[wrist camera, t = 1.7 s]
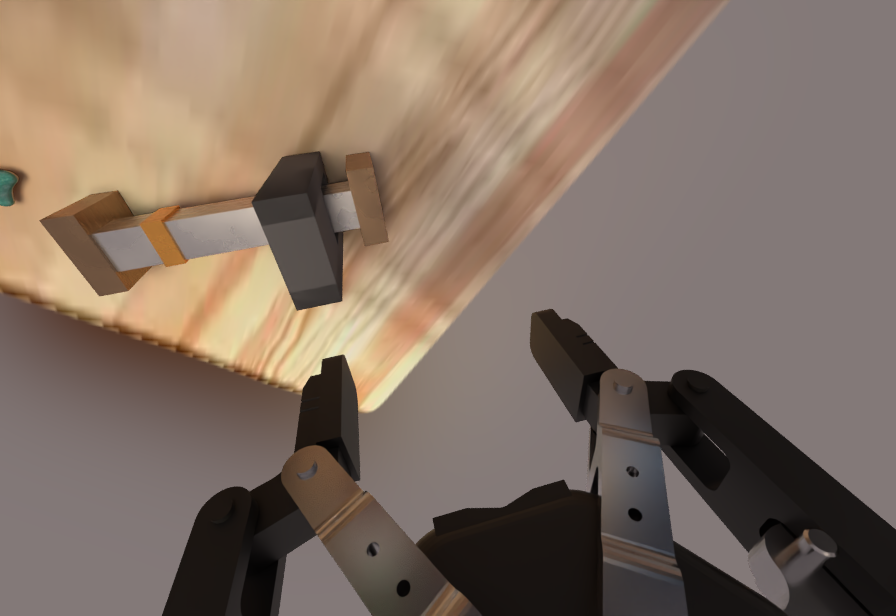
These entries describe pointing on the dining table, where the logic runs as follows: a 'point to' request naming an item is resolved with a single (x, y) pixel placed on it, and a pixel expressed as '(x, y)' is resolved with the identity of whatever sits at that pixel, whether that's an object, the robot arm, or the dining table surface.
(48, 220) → the grey bar with endplates
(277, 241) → the collar
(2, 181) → the whale figurine
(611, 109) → the dining table surface
